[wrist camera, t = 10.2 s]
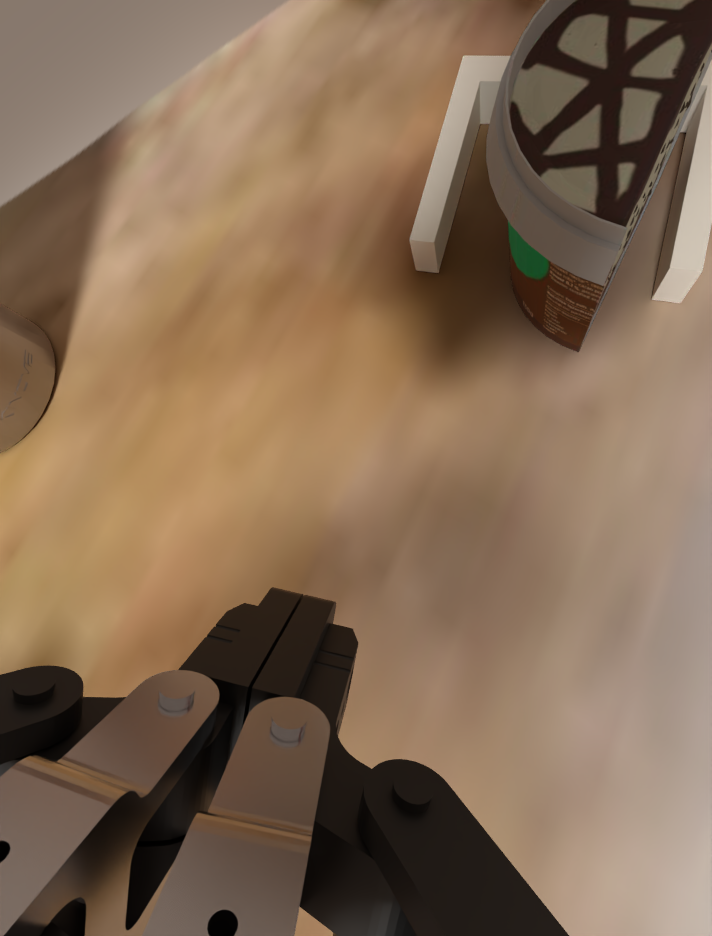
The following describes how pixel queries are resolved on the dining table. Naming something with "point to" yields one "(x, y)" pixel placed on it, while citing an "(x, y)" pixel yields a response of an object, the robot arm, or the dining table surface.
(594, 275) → the food container
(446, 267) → the dining table surface
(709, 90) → the bay
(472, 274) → the dining table surface
